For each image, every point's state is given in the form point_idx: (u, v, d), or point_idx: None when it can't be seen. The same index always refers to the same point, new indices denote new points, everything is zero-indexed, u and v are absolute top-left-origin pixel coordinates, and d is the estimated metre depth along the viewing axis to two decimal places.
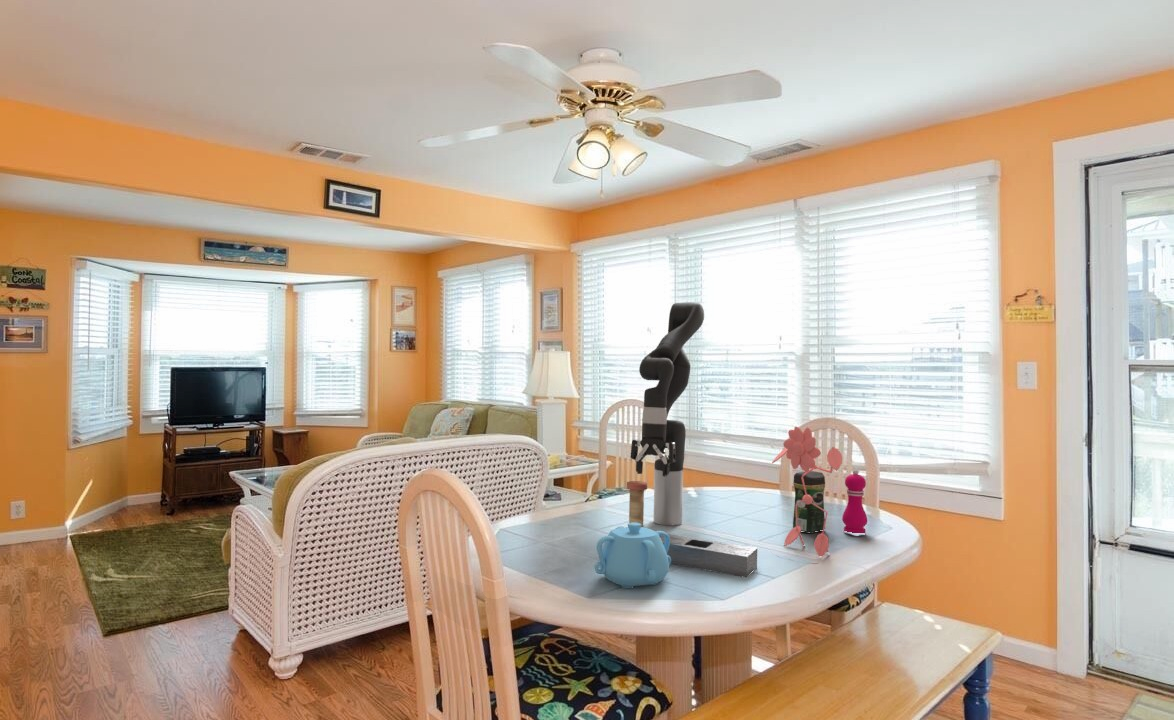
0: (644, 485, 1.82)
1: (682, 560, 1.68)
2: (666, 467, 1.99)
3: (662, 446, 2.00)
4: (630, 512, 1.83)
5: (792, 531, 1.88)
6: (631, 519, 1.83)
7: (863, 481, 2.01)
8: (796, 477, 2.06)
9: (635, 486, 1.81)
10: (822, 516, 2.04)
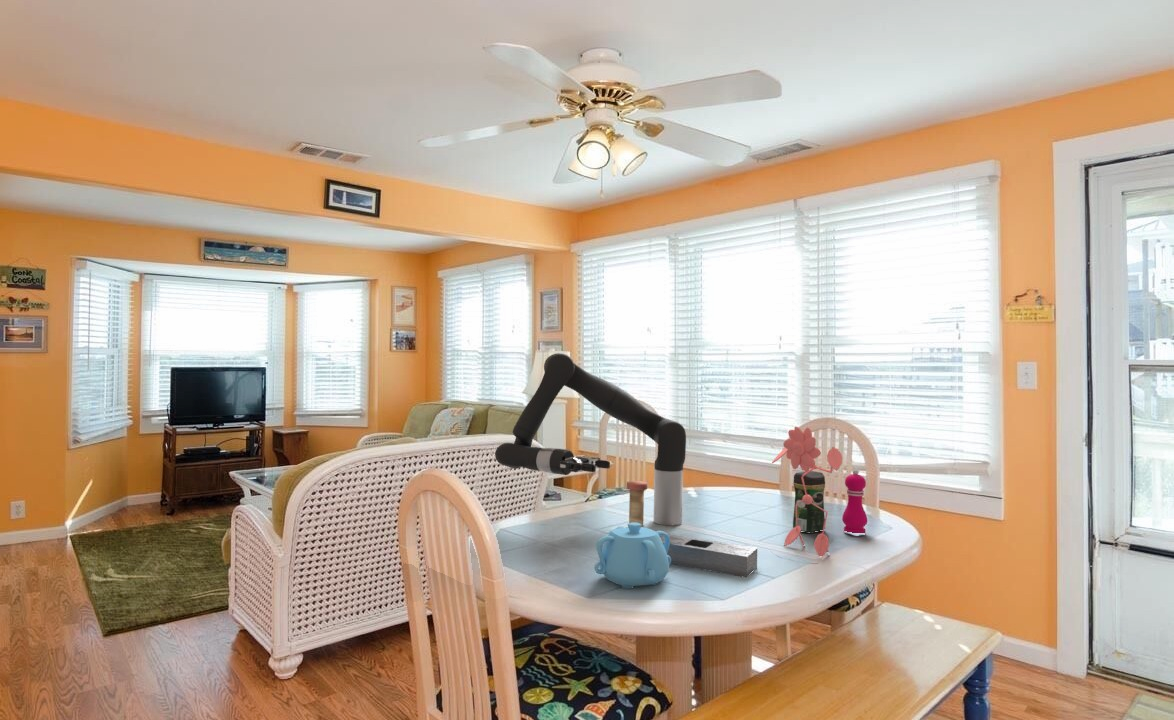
0: (644, 485, 1.82)
1: (682, 560, 1.68)
2: (585, 470, 1.87)
3: None
4: (630, 512, 1.83)
5: (792, 531, 1.88)
6: (631, 519, 1.83)
7: (863, 481, 2.01)
8: (796, 477, 2.06)
9: (635, 486, 1.81)
10: (822, 516, 2.04)
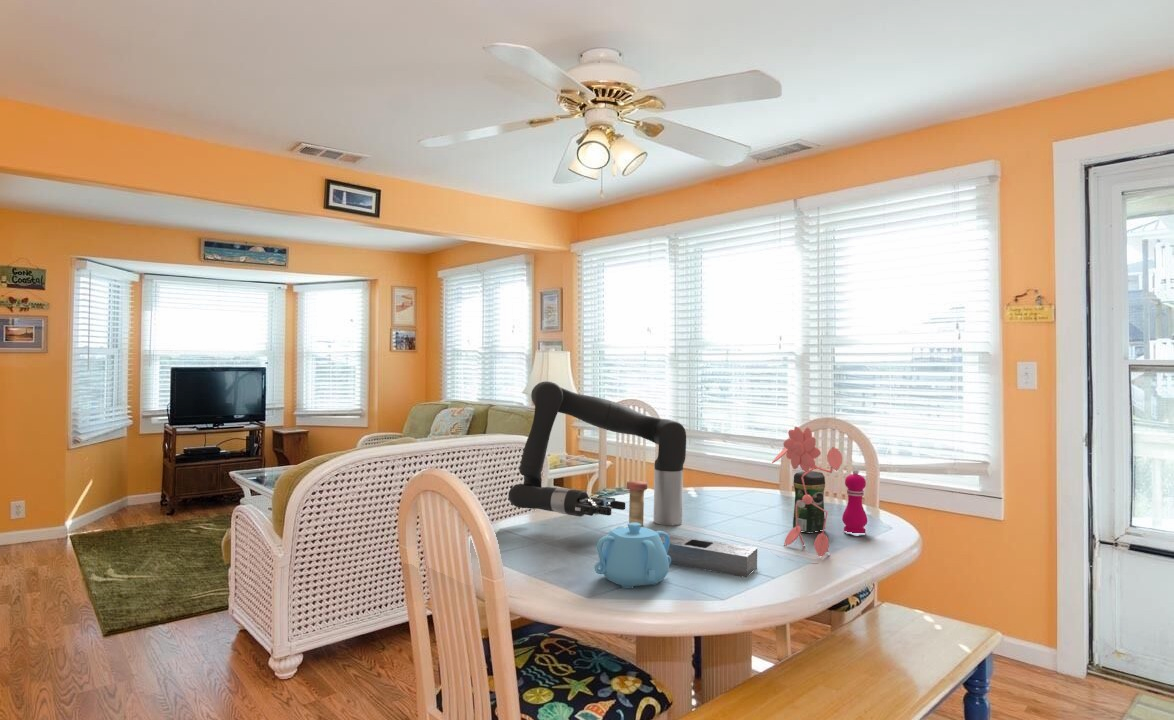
0: (644, 485, 1.82)
1: (682, 560, 1.68)
2: None
3: None
4: (630, 512, 1.83)
5: (792, 531, 1.88)
6: (631, 519, 1.83)
7: (863, 481, 2.01)
8: (796, 477, 2.06)
9: (635, 486, 1.81)
10: (822, 516, 2.04)
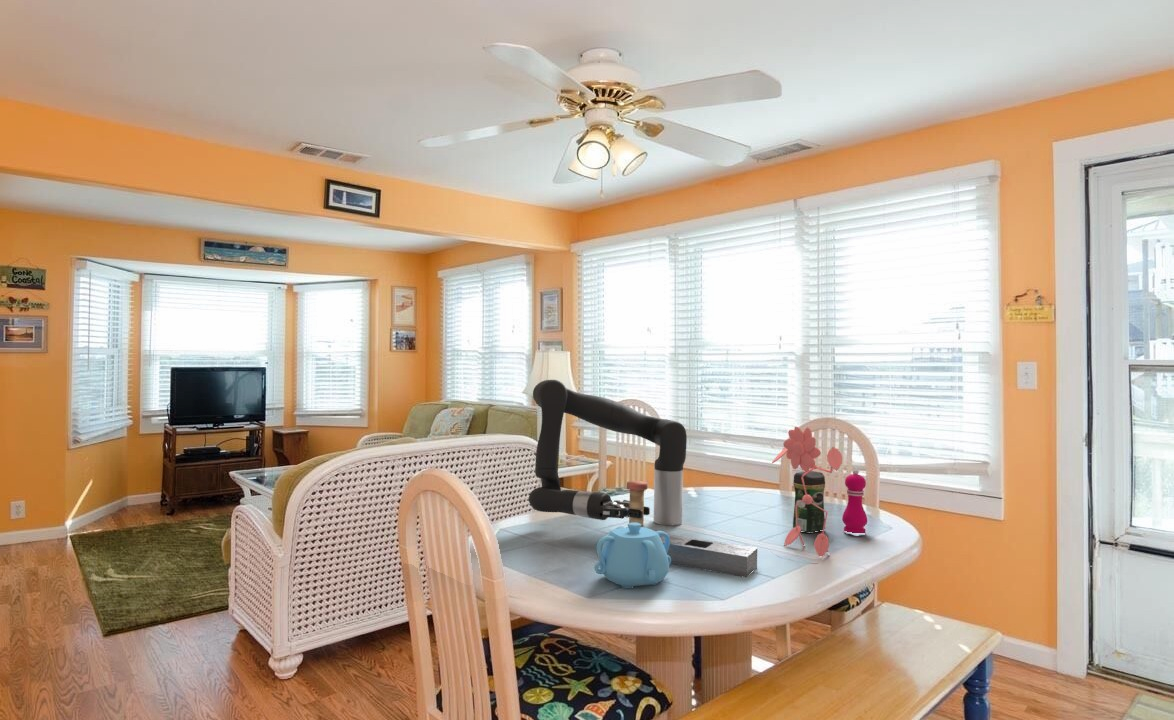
0: (644, 485, 1.82)
1: (682, 560, 1.68)
2: (631, 516, 1.81)
3: None
4: None
5: (792, 531, 1.88)
6: (631, 519, 1.83)
7: (863, 481, 2.01)
8: (796, 477, 2.06)
9: (635, 486, 1.81)
10: (822, 516, 2.04)
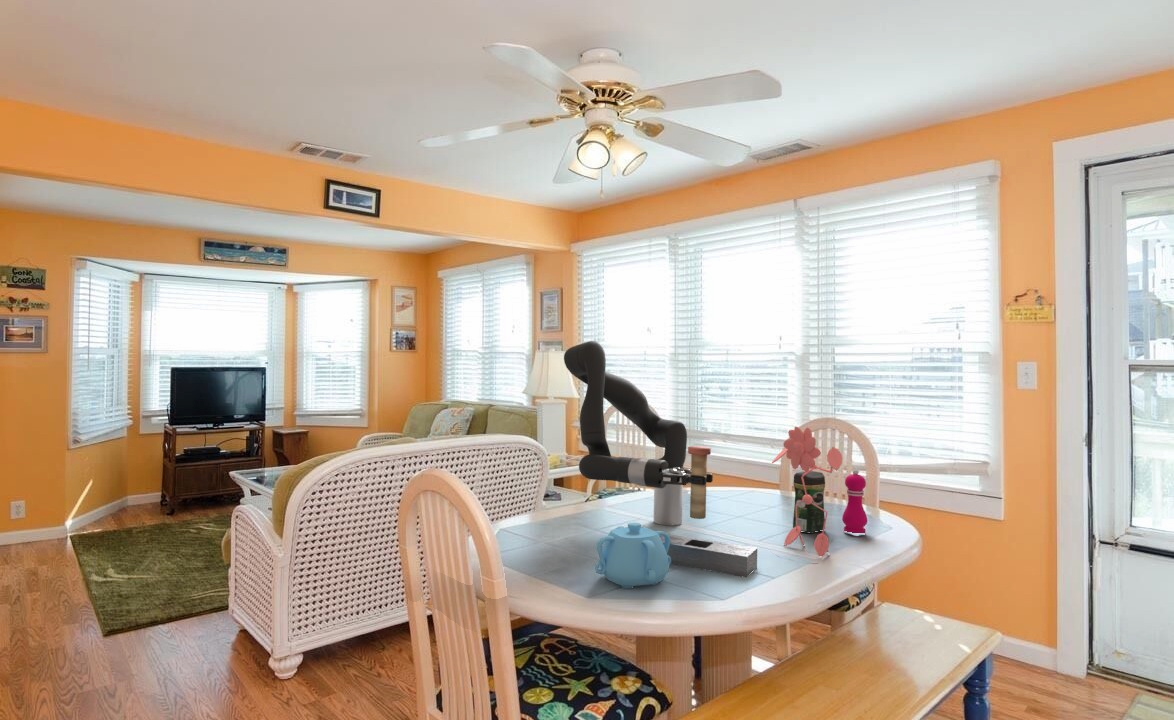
0: (708, 450, 1.68)
1: (682, 560, 1.68)
2: (694, 482, 1.68)
3: None
4: None
5: (792, 531, 1.88)
6: (693, 486, 1.69)
7: (863, 481, 2.01)
8: (796, 477, 2.06)
9: (698, 450, 1.68)
10: (822, 516, 2.04)
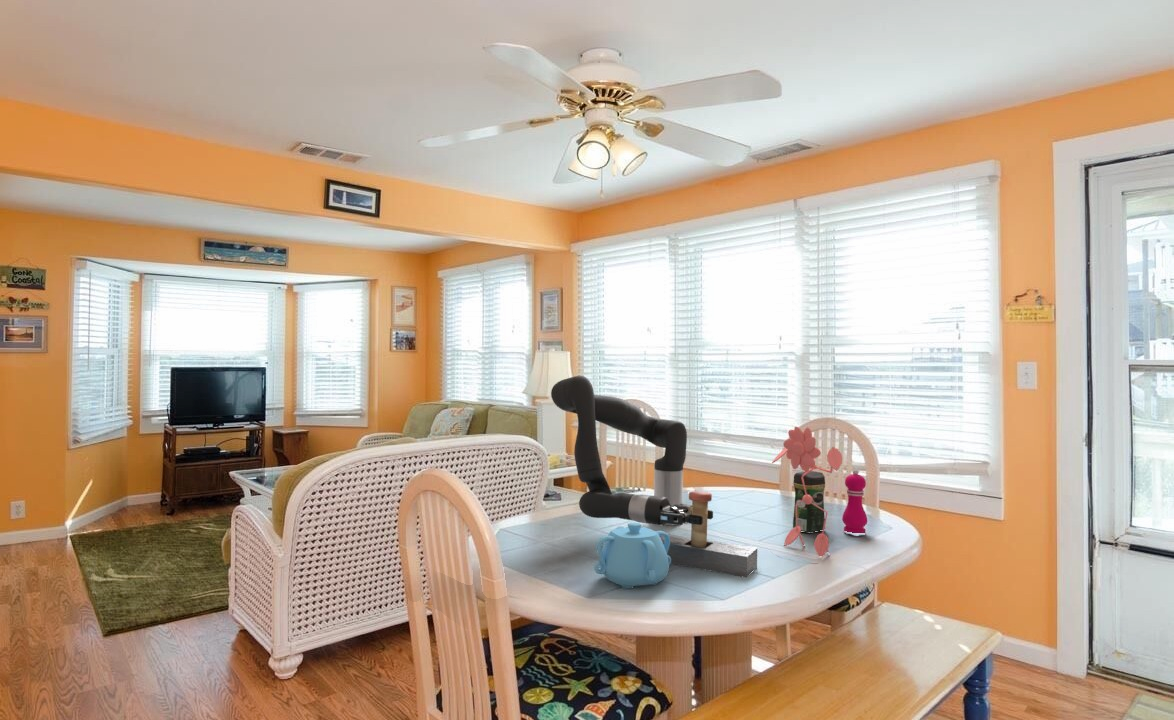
0: (709, 496, 1.68)
1: (682, 560, 1.68)
2: None
3: None
4: (693, 525, 1.69)
5: (792, 531, 1.88)
6: (694, 533, 1.69)
7: (863, 481, 2.01)
8: (796, 477, 2.06)
9: (699, 497, 1.67)
10: (822, 516, 2.04)
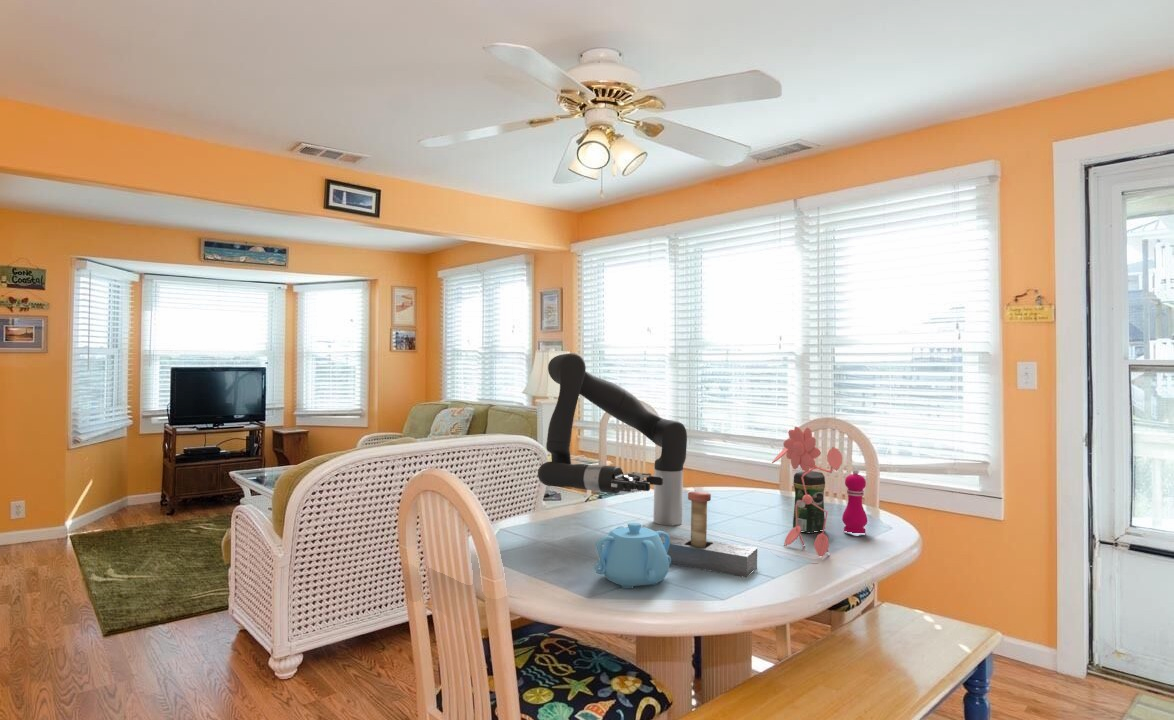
0: (708, 496, 1.68)
1: (682, 560, 1.68)
2: (638, 488, 1.75)
3: None
4: (692, 525, 1.70)
5: (792, 531, 1.88)
6: (694, 533, 1.69)
7: (863, 481, 2.01)
8: (796, 477, 2.06)
9: (698, 497, 1.68)
10: (822, 516, 2.04)
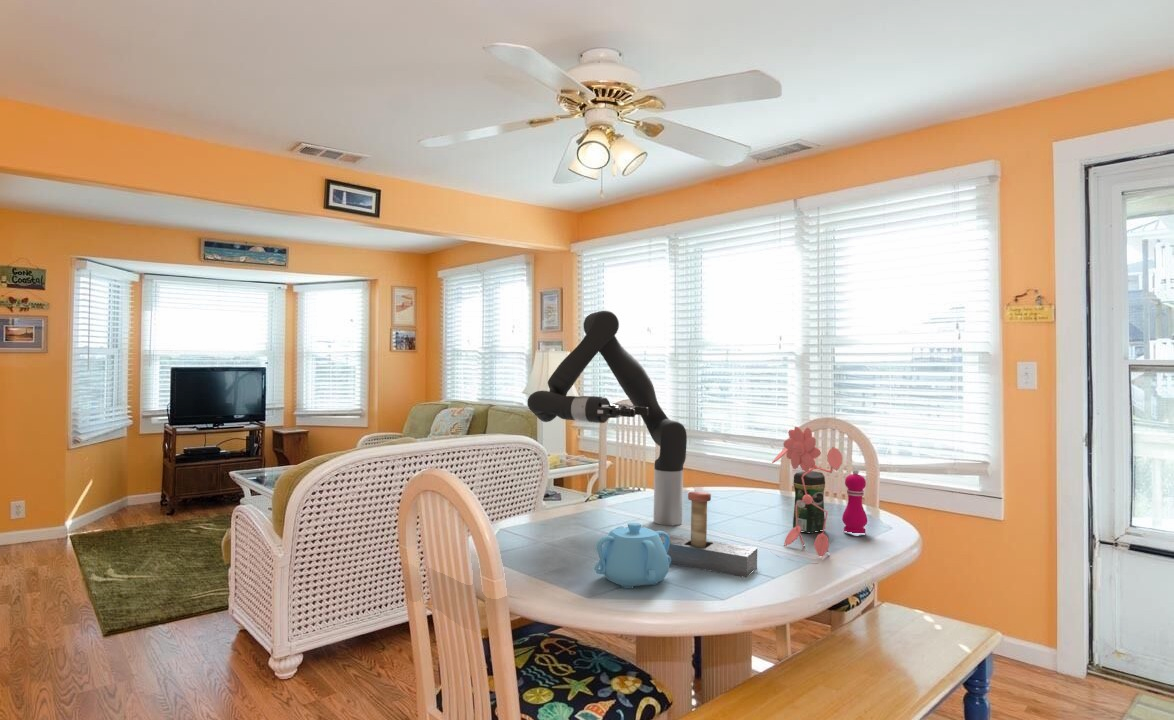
0: (708, 496, 1.68)
1: (682, 560, 1.68)
2: (624, 415, 1.78)
3: None
4: (692, 525, 1.70)
5: (792, 531, 1.88)
6: (694, 533, 1.69)
7: (863, 481, 2.01)
8: (796, 477, 2.06)
9: (698, 497, 1.68)
10: (822, 516, 2.04)
